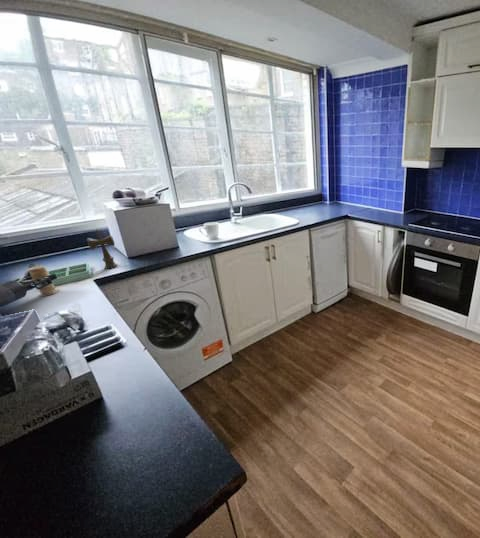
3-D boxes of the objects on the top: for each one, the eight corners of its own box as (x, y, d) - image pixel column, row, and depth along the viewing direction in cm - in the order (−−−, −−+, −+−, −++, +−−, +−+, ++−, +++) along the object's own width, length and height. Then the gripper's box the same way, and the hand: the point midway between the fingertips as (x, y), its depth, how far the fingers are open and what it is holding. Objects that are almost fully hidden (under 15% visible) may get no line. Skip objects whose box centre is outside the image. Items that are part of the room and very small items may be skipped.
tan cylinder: (41, 297, 122) (27, 270, 118) (42, 293, 126) (28, 267, 121) (56, 293, 125) (43, 267, 120) (57, 289, 129) (44, 264, 124)
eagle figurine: (51, 272, 144) (41, 267, 147) (36, 264, 138) (25, 259, 141) (37, 285, 140) (27, 279, 143) (21, 278, 134) (10, 272, 137)
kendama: (100, 267, 151) (83, 230, 143) (123, 263, 156) (108, 226, 148) (99, 271, 146) (82, 232, 138) (123, 266, 151) (108, 229, 143)
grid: (46, 287, 131) (42, 281, 130) (49, 277, 142) (46, 271, 141) (90, 277, 140) (88, 271, 139) (90, 268, 151) (88, 262, 150)
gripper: (-10, 303, 111) (34, 284, 126) (26, 302, 111) (66, 283, 126) (-21, 286, 108) (25, 268, 123) (16, 285, 108) (59, 267, 123)
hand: (46, 276), depth 125 cm, fingers open, 7 cm apart
